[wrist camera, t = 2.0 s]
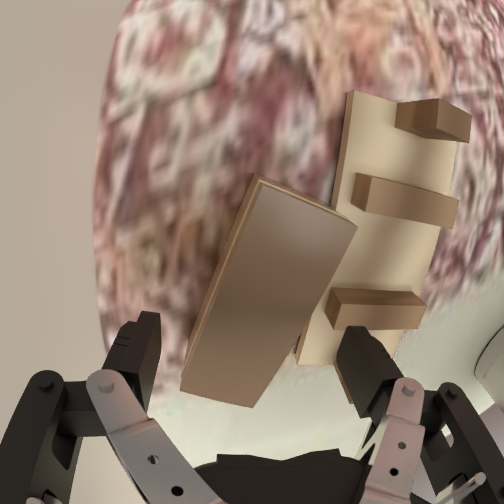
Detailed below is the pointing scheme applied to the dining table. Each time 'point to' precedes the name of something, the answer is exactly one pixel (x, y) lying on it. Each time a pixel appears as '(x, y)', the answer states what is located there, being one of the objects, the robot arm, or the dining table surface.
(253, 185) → the brown rectangular box
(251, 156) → the dining table surface
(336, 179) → the display cradle
